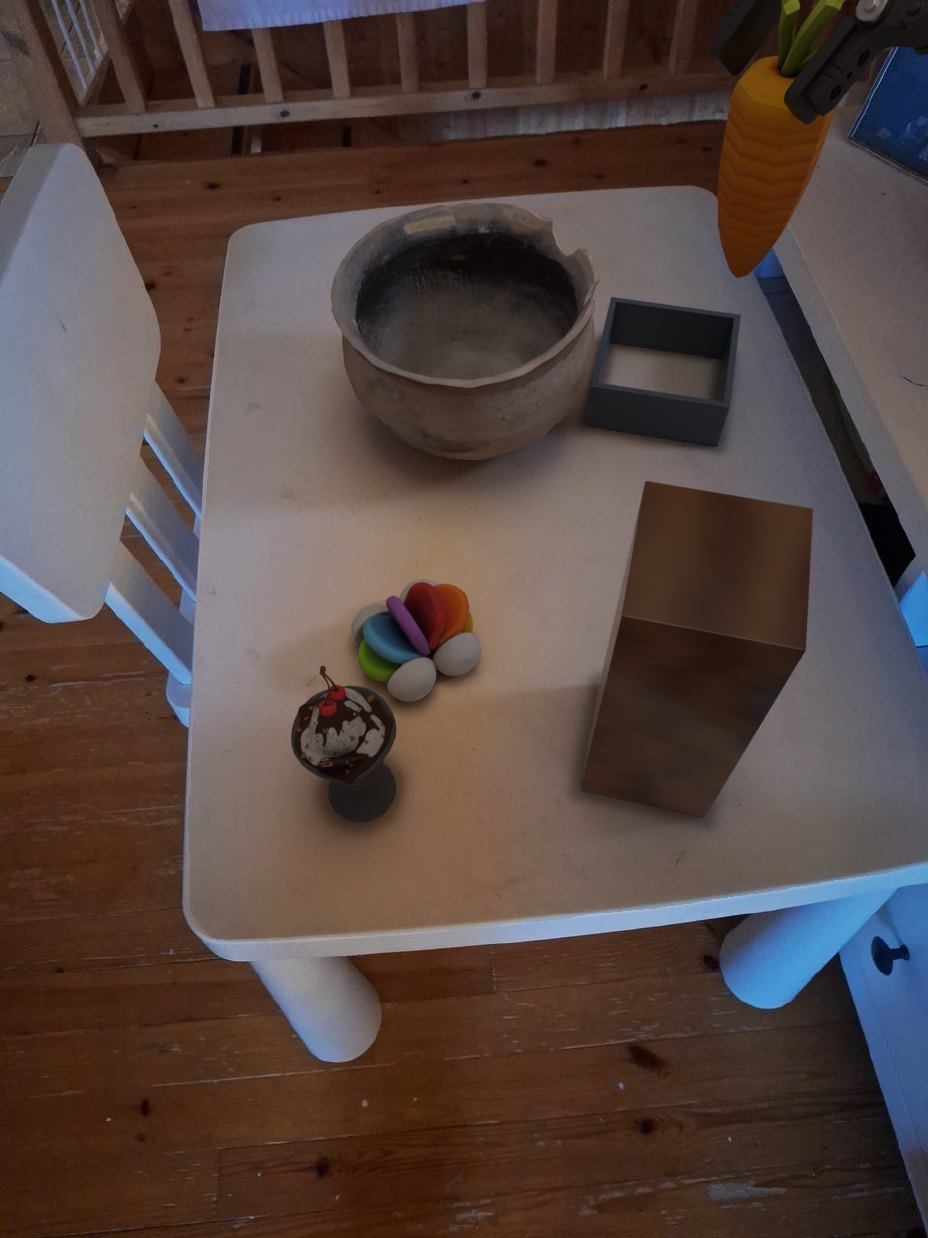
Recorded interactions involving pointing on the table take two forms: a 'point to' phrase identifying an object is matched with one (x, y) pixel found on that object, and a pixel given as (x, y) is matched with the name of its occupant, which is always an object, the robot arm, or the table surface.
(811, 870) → the table surface
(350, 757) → the sundae
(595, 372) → the square storage tray
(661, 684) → the block
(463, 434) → the ceramic bowl
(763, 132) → the carrot
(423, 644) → the rainbow cloud toy
